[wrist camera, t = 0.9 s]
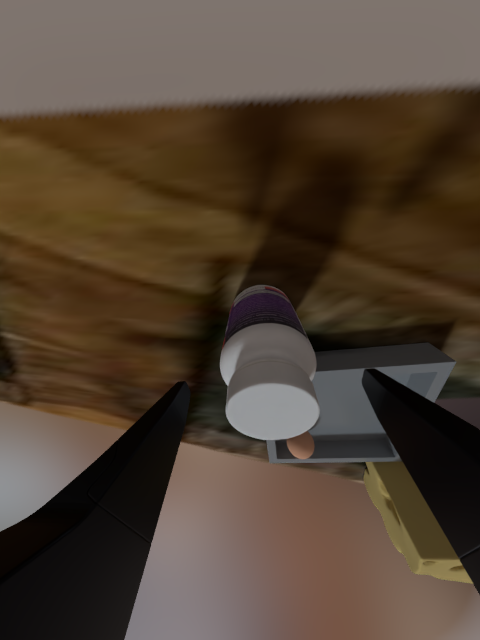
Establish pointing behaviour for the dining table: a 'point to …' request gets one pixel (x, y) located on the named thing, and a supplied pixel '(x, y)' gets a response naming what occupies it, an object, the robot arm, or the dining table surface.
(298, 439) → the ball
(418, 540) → the cheese
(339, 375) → the tray
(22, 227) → the dining table surface
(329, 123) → the dining table surface
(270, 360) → the pill bottle
